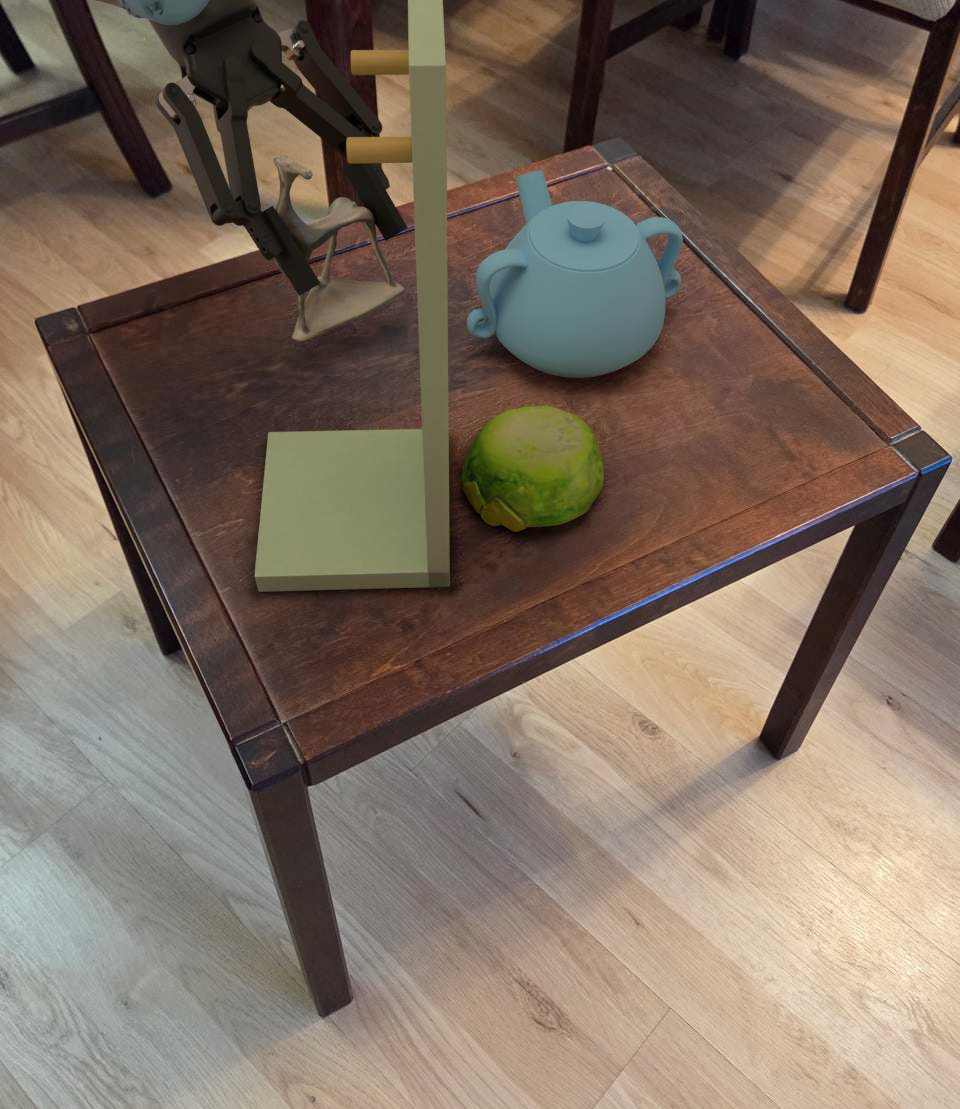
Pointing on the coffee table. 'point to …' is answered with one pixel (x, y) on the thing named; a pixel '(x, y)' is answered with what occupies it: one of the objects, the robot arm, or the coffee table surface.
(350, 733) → the coffee table surface
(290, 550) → the rack
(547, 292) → the teapot
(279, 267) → the figurine
